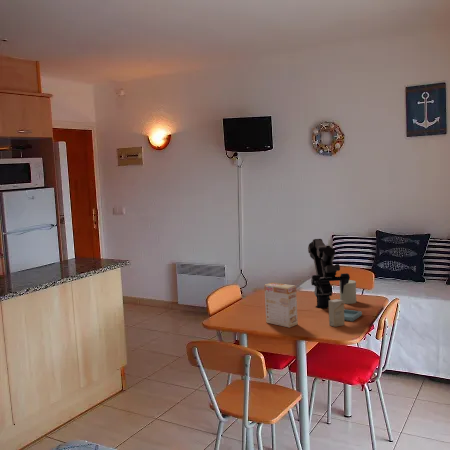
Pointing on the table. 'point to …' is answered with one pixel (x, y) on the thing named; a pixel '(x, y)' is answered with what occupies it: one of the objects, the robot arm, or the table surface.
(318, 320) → the table surface
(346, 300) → the can
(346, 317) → the tray
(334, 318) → the skincare box
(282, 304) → the coffeecake box
